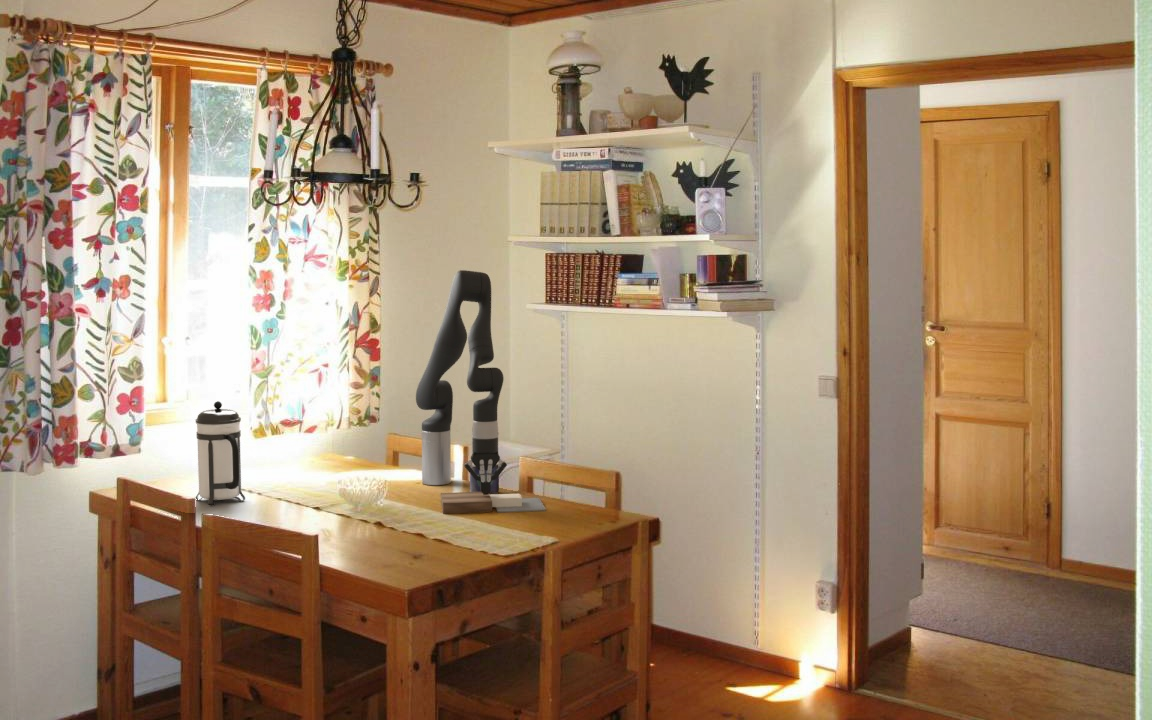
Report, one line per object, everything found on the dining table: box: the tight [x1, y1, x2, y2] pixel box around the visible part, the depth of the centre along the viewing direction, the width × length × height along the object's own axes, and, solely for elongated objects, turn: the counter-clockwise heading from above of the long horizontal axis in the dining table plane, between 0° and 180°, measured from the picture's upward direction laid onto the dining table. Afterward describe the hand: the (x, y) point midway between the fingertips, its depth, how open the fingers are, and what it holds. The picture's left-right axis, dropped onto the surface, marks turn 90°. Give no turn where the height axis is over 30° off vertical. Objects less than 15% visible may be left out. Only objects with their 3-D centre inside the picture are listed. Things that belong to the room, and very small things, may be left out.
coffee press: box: [194, 401, 246, 506], centre depth 327 cm, size 17×16×30 cm
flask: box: [469, 463, 500, 495], centre depth 341 cm, size 9×3×11 cm, turn 109°
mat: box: [495, 497, 547, 513], centre depth 324 cm, size 16×14×1 cm
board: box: [440, 491, 493, 514], centre depth 322 cm, size 14×14×3 cm
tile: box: [489, 493, 523, 508], centre depth 323 cm, size 6×9×2 cm, turn 100°
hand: (485, 494), depth 323 cm, fingers closed
